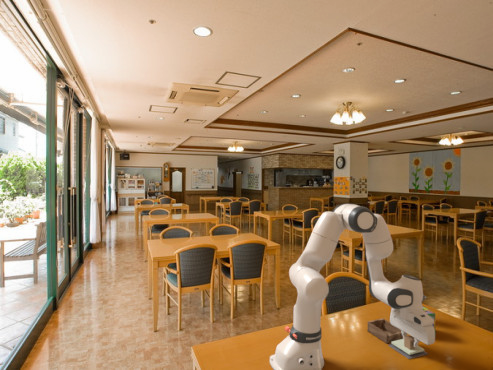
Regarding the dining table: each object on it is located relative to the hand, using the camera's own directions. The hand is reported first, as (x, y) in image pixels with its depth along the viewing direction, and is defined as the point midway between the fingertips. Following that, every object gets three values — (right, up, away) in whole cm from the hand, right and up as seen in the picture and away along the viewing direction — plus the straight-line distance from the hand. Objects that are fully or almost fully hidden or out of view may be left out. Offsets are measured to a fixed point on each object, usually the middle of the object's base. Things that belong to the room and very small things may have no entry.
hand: (410, 344), depth 130 cm
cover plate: (0, -2, +1) cm, 3 cm away
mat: (0, -3, +1) cm, 4 cm away
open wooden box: (-5, -3, +14) cm, 15 cm away
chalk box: (+14, -4, +16) cm, 22 cm away
